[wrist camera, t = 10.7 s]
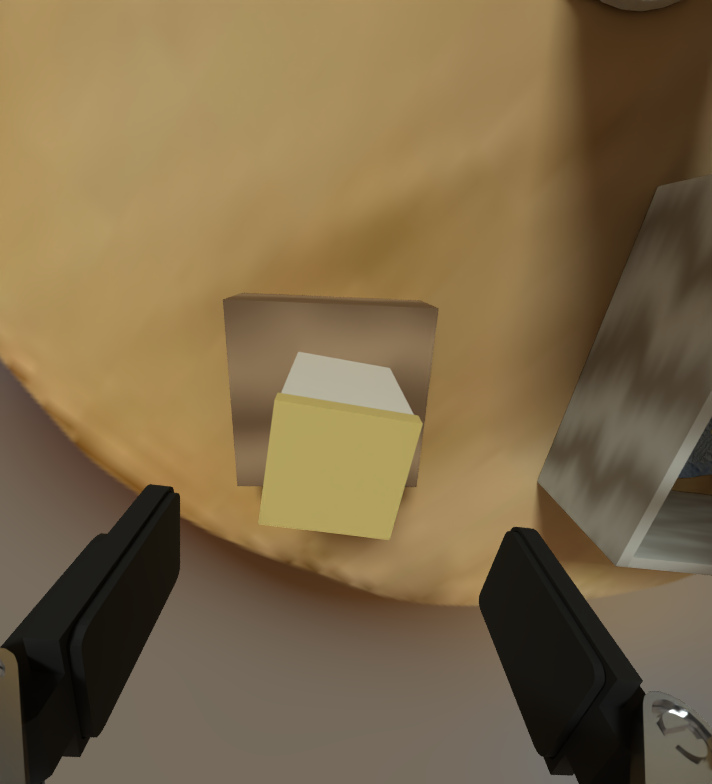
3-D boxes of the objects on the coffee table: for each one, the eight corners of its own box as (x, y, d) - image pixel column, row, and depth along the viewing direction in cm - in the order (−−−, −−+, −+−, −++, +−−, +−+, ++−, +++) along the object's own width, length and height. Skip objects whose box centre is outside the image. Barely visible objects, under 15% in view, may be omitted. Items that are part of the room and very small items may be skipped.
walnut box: (244, 292, 24) (223, 299, 19) (418, 299, 25) (438, 308, 20) (253, 448, 28) (237, 486, 23) (403, 450, 29) (416, 487, 24)
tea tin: (296, 349, 21) (274, 399, 13) (391, 366, 21) (422, 424, 14) (284, 436, 22) (258, 524, 15) (371, 449, 23) (389, 540, 16)
